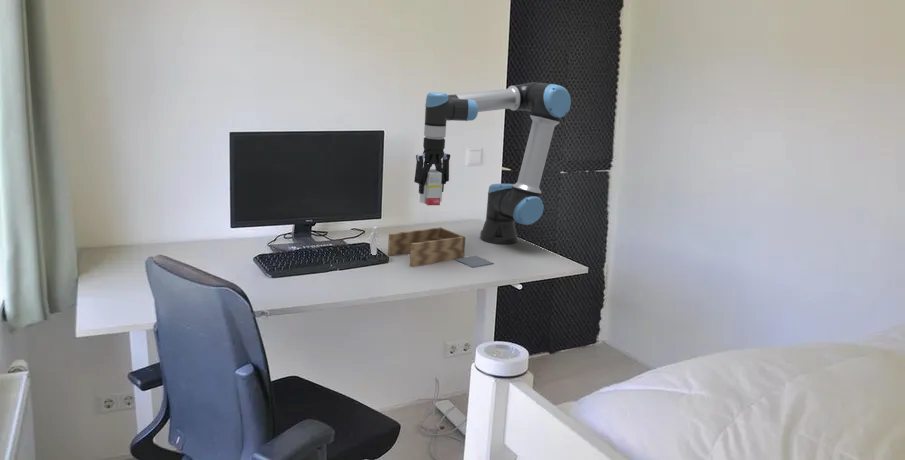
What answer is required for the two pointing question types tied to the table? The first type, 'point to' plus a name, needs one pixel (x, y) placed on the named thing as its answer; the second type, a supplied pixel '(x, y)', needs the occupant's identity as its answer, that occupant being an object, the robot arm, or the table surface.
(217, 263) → the table surface
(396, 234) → the wooden frame
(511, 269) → the table surface
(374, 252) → the figurine
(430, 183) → the ink box
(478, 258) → the mat
